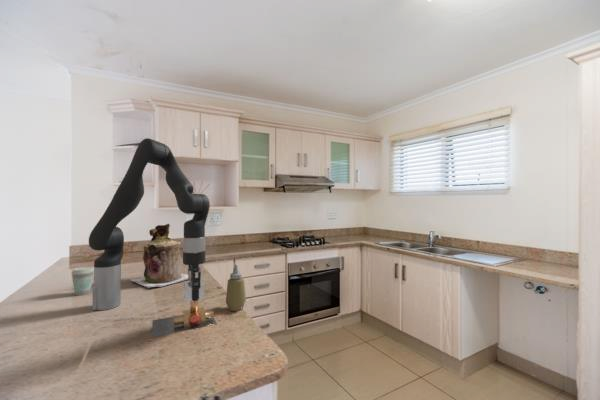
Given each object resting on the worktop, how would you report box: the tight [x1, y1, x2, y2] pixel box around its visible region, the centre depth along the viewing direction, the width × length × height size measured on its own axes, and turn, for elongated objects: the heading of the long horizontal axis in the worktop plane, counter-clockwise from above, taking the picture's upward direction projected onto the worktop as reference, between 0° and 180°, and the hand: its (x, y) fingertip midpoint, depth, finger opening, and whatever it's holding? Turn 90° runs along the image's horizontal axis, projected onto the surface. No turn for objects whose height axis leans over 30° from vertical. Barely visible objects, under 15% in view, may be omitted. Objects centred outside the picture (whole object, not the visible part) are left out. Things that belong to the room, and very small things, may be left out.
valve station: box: [151, 300, 218, 338], centre depth 97 cm, size 20×14×10 cm
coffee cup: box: [71, 266, 94, 296], centre depth 130 cm, size 9×9×12 cm
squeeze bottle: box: [225, 264, 247, 312], centre depth 111 cm, size 8×8×18 cm
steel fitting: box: [183, 279, 205, 302], centre depth 96 cm, size 6×6×5 cm
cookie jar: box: [130, 223, 189, 289], centre depth 152 cm, size 25×25×32 cm
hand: (194, 296), depth 96 cm, fingers closed on steel fitting, 6 cm apart
